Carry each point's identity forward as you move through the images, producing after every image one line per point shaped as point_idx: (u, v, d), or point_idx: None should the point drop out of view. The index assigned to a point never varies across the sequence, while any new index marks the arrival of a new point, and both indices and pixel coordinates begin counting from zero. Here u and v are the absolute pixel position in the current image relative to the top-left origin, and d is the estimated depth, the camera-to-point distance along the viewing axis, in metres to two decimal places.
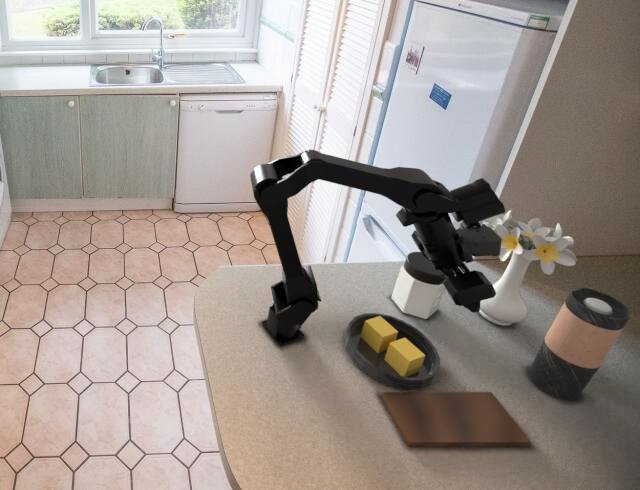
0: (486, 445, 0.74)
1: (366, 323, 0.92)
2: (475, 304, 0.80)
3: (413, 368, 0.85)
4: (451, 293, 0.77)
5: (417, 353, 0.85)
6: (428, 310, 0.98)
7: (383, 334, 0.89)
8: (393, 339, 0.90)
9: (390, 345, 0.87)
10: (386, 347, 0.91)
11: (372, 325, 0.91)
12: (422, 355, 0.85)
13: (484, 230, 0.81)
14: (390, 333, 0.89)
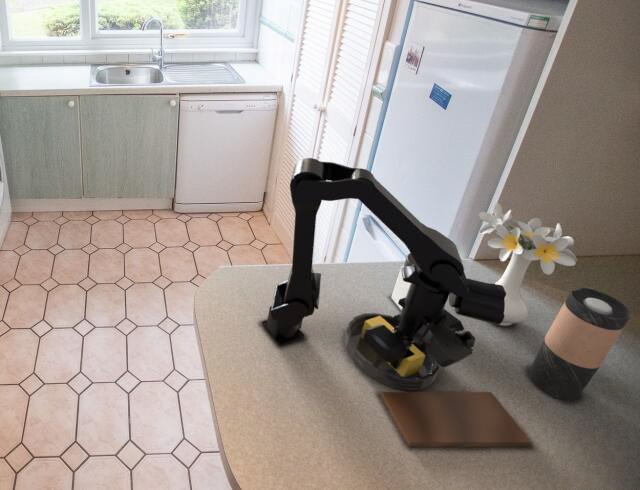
0: (486, 445, 0.74)
1: (366, 323, 0.92)
2: None
3: (413, 368, 0.85)
4: (368, 328, 0.84)
5: (417, 353, 0.85)
6: None
7: None
8: None
9: None
10: None
11: (372, 325, 0.91)
12: (422, 355, 0.85)
13: (461, 348, 0.77)
14: None
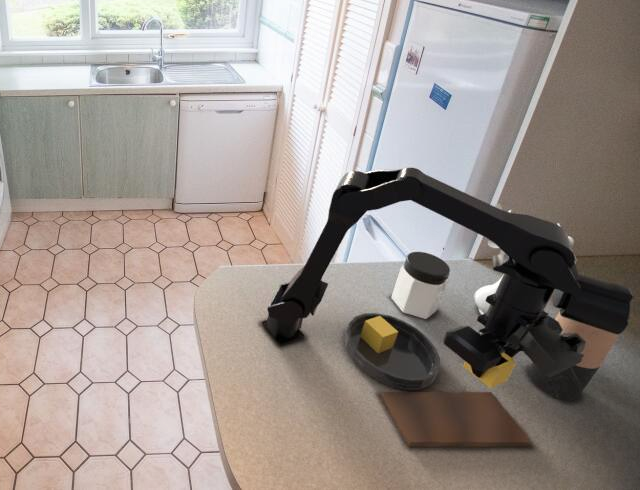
0: (486, 445, 0.74)
1: (366, 323, 0.92)
2: None
3: (502, 377, 0.73)
4: (450, 330, 0.71)
5: None
6: (428, 310, 0.98)
7: (383, 334, 0.89)
8: (393, 339, 0.90)
9: None
10: (386, 347, 0.91)
11: (372, 325, 0.91)
12: (513, 361, 0.72)
13: (569, 353, 0.64)
14: (390, 333, 0.89)
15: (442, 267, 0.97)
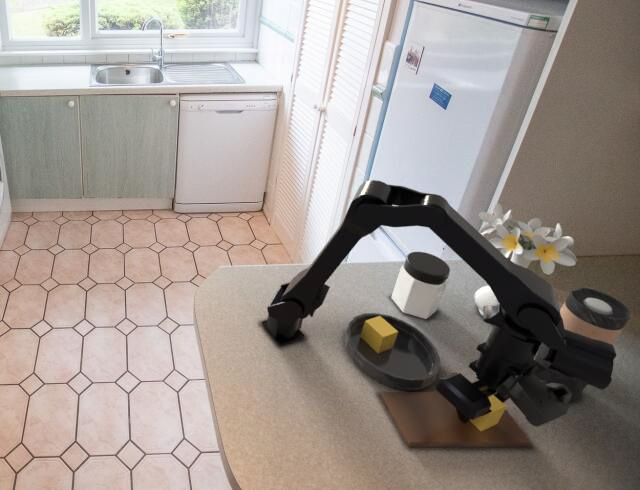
0: (486, 445, 0.74)
1: (366, 323, 0.92)
2: None
3: (492, 420, 0.75)
4: (443, 377, 0.74)
5: (497, 404, 0.75)
6: (428, 310, 0.98)
7: (383, 334, 0.89)
8: (393, 339, 0.90)
9: None
10: (386, 347, 0.91)
11: (372, 325, 0.91)
12: (503, 406, 0.75)
13: (556, 404, 0.67)
14: (390, 333, 0.89)
15: (442, 267, 0.97)
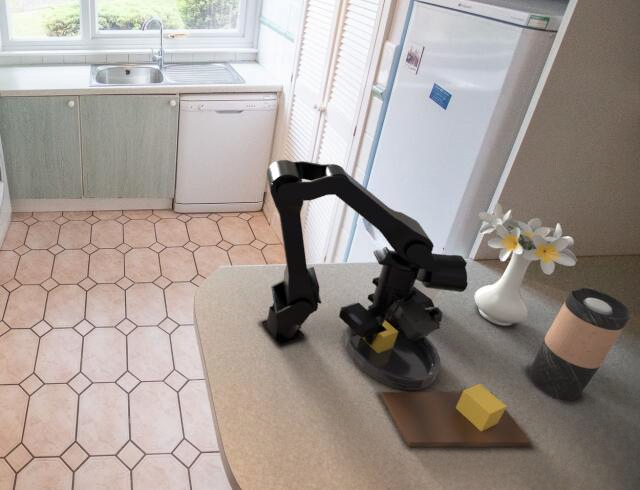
0: (486, 445, 0.74)
1: None
2: (369, 335, 0.91)
3: (492, 420, 0.75)
4: (344, 306, 0.89)
5: (497, 404, 0.75)
6: None
7: (383, 334, 0.89)
8: (393, 339, 0.90)
9: (464, 393, 0.77)
10: (386, 347, 0.91)
11: None
12: (503, 406, 0.75)
13: (429, 322, 0.82)
14: (390, 333, 0.89)
15: None
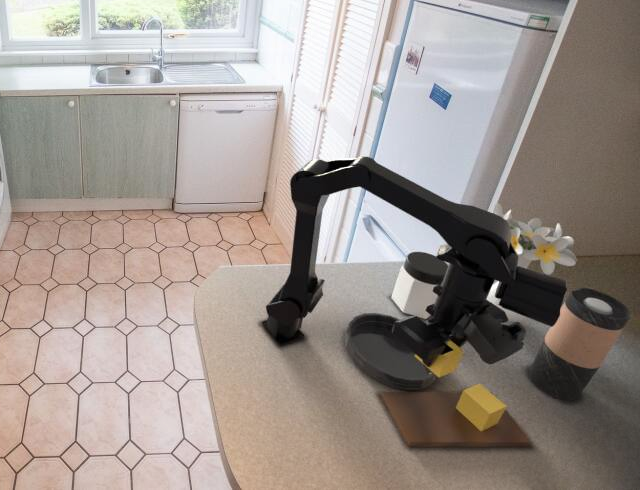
0: (486, 445, 0.74)
1: None
2: None
3: (492, 420, 0.75)
4: (398, 320, 0.72)
5: (497, 404, 0.75)
6: None
7: (446, 354, 0.73)
8: (457, 360, 0.74)
9: (464, 393, 0.77)
10: (449, 370, 0.74)
11: None
12: (503, 406, 0.75)
13: (510, 341, 0.66)
14: (454, 353, 0.73)
15: (442, 267, 0.97)
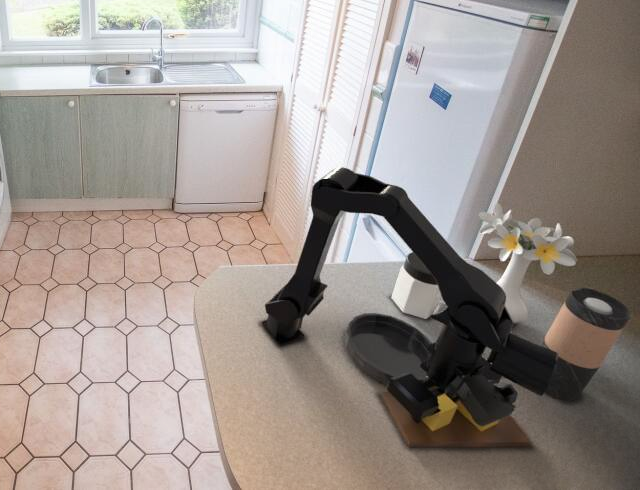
0: (486, 445, 0.74)
1: None
2: None
3: None
4: (393, 377, 0.74)
5: None
6: (428, 310, 0.98)
7: (440, 409, 0.74)
8: (451, 415, 0.75)
9: None
10: (443, 424, 0.76)
11: None
12: None
13: (501, 404, 0.67)
14: (448, 408, 0.74)
15: None
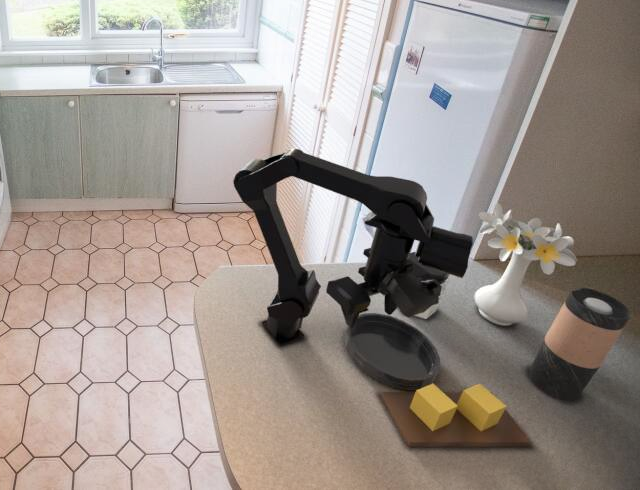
0: (486, 445, 0.74)
1: (418, 393, 0.77)
2: (349, 317, 0.80)
3: (492, 420, 0.75)
4: (332, 280, 0.79)
5: (497, 404, 0.75)
6: (428, 310, 0.98)
7: (440, 409, 0.74)
8: (451, 415, 0.75)
9: (464, 393, 0.77)
10: (443, 424, 0.76)
11: (425, 397, 0.76)
12: (503, 406, 0.75)
13: (426, 296, 0.73)
14: (448, 408, 0.74)
15: None
